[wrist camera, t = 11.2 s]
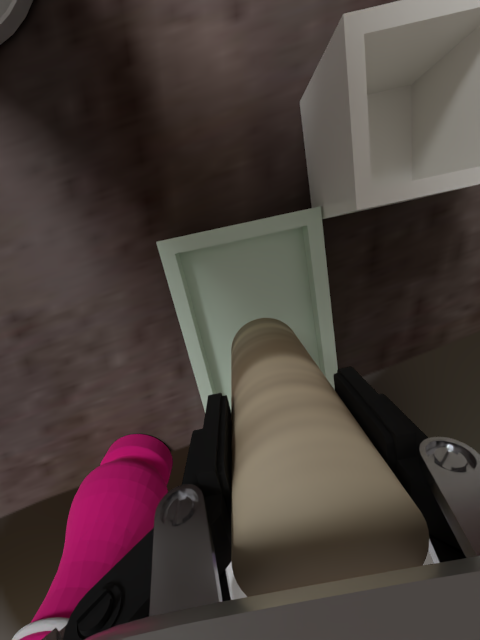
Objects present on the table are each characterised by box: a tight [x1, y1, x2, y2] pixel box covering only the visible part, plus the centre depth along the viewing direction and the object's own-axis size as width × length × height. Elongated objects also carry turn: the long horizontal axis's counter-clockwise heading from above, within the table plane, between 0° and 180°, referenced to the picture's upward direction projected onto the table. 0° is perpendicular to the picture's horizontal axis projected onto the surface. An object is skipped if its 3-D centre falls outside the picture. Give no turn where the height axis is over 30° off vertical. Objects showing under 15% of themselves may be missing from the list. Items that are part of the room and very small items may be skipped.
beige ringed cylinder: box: [231, 318, 429, 597], centre depth 12 cm, size 4×4×12 cm
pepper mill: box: [12, 434, 173, 640], centre depth 16 cm, size 7×7×20 cm
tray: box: [156, 206, 338, 413], centre depth 21 cm, size 16×11×2 cm
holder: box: [300, 0, 480, 219], centre depth 15 cm, size 8×8×7 cm
